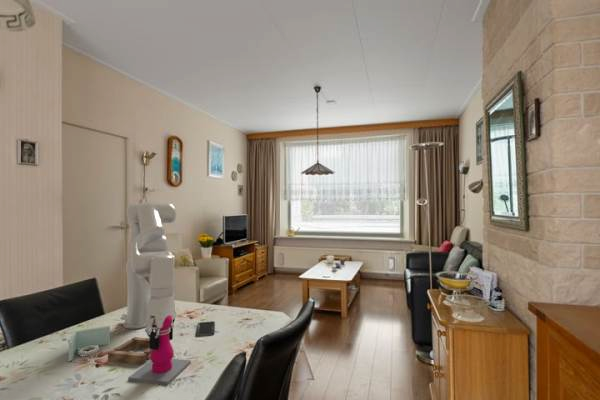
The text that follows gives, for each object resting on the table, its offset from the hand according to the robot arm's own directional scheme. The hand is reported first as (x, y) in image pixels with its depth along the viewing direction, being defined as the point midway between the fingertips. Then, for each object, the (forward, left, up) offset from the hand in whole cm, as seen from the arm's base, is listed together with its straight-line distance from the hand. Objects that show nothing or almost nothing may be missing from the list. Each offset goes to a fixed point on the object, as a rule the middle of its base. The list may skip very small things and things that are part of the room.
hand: (161, 343), depth 108 cm
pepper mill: (0, 0, -8) cm, 8 cm away
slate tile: (0, 0, -9) cm, 9 cm away
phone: (-2, +37, -10) cm, 38 cm away
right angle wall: (-35, +8, -10) cm, 37 cm away
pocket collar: (-16, +10, -9) cm, 21 cm away
